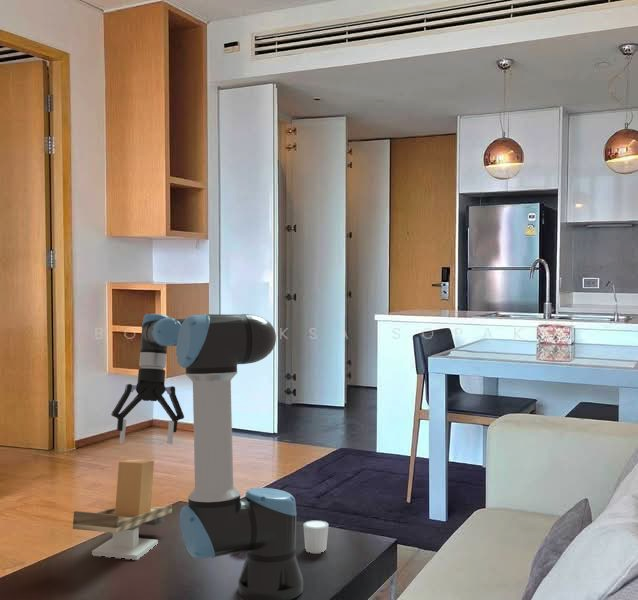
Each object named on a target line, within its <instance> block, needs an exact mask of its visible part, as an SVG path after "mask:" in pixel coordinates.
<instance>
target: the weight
mask: <svg viewBox="0 0 638 600" xmlns="http://www.w3.org/2000/svg"><path fill="white" fill-rule="evenodd" d="M154 464H155V460H144V459H126V460H121V461H118V466H117V467H118V468H117V469H118V472H117V481H116V498H115V507H116V508H115V507H114V508H115V514H117V515H128V516H138V515H141V514H144V513H146V512H149V511H151V507H152V498H153V497H152V495H153V494H152V493H153V483H154V482H153V480H154Z"/></svg>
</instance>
